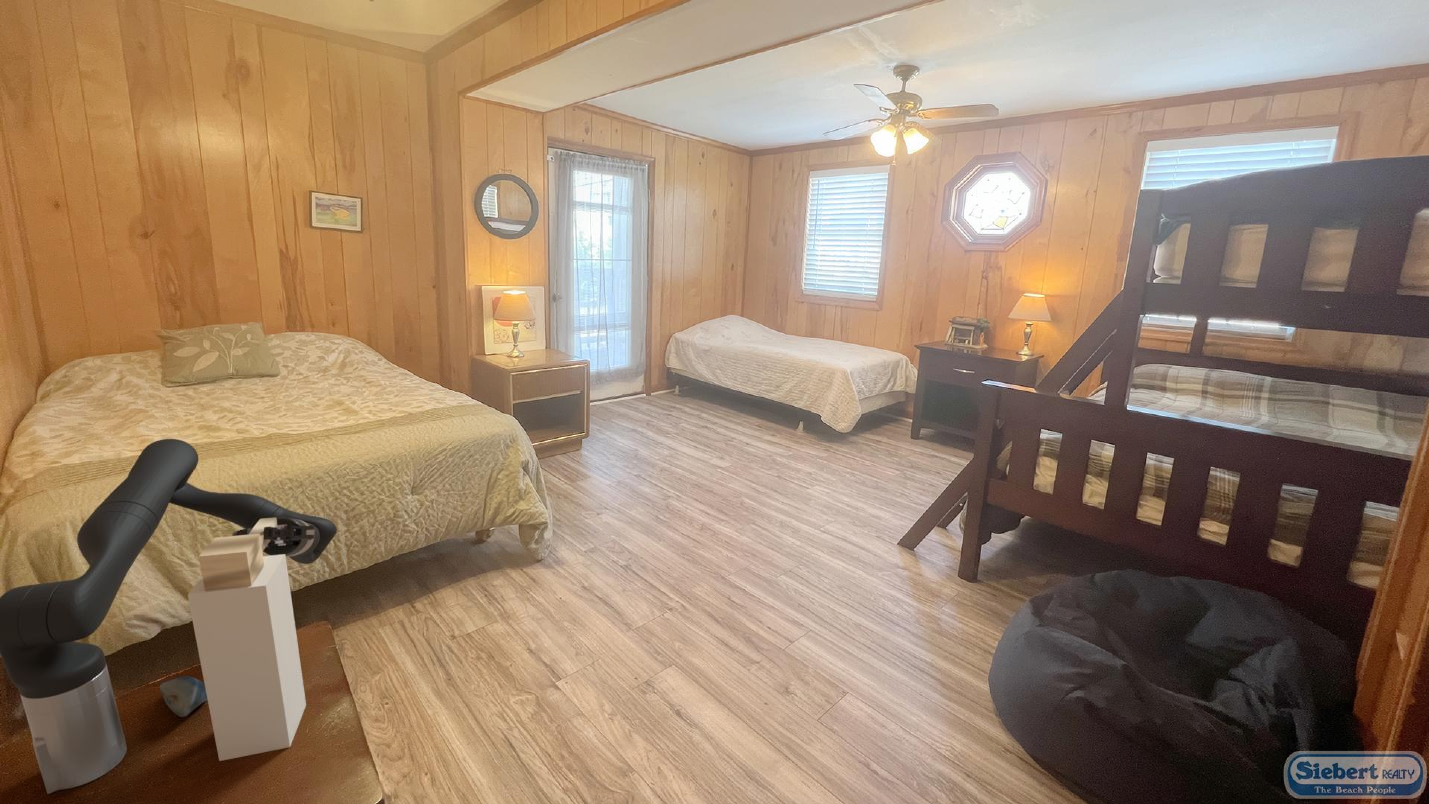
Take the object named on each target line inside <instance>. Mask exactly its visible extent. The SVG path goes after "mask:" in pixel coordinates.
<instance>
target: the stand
mask: <svg viewBox="0 0 1429 804" xmlns="http://www.w3.org/2000/svg"><path fill="white" fill-rule="evenodd" d="M263 559H264V565H265V566H264V567H263V569H262V570H261V572H260V574H259V575H258V577H257V578H256V580H255V581H254V583H253V584H252V585H251V586H243V587H234V588H225V589H216V590H208V591H205V588H204V583H203V577H202V576H201V578H200V579H199V580H198V581H197V582H196V584H195V585H194V586H193V587H192V588H191V590H190V591H189V592H188V594H187V599H188V603H189V609H190V614H191V619H192V624H193V629H194V635H195V640H196V645H197V651H198V657H199V661H200V667H201V672H202V677H203V683H204V684H205V688H206V694H207V699H208V700H207V704H208V708H209V713H210V714H209V715H210V719H211V724H212V730H213V734H214V740H215V745H216V750H217V755H218V761H219V762H221V761H226V760H233V759H236V758H237V759H238V758H242V757H247V756H252V755H257V754H262V753H266V752H272V751H278V750H283V749H287V748H291V746H292V742H293V741H294V738H295V735H296V733H297V730H298V728H299V725H300V723H301V720H302V717H303V715H304V711H305V709H306V707H307V701H306V695H305V687H304V680H303V679H304V678H303V672H302V666H301V665H302V664H301V659H300V652H299V651H300V650H299V644H298V643H299V642H298V636H297V629H296V621H295V615H294V607H293V602H292V601H293V600H292V592H291V585H290V578H289V572H288V564H287V557H286V556H285V554H282V555H272V556H271V555H263Z"/></svg>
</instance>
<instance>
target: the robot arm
mask: <svg viewBox="0 0 1429 804" xmlns="http://www.w3.org/2000/svg"><path fill="white" fill-rule="evenodd" d="M198 463H199V454H198V451H197V449H195V447H194V446H192V444H190V443H188V442H187V441H184V440H182V439H176V438H163V439H159V440H156V441H153V442H151V443H149V444H148V445H147V446H146V447H145V448H143V450H141V452H140V454H139V456H138V457H137V459H136V460H135V462H134V464H133V466H132V467H131V469H130V471H129V473H128V474H127V477H126V478H125V479H124V480H123V481H122V482H121V483H120V484H119V485H118V486H116V487H115V489H113V490H112V492H111V493H110V494H109V495H108V496H107V497H105V499H104V500H103V501H102V502H101V503H100V504H99V505H98V506H97V508H95V509H94V510H93V512H92V513H91V514H90V516H89V517H88V518H87V519H86V520H85V522H84V523H82V525H81V527H80V529H79V531H78V533H77V536H76V537H77V538H76V543H77V546H78V550H79V551H80V554H82V556H83V559H85V561H86V562H87V564H88V565H89V567H88V569H87V570H86V571H85V572H84V574H82V575H80V576H79V577H77V578H74V579H68V580H61V581H52V582H45V583H37V584H36V583H35V584H27V585H21V586H17V587H14V588H12V589H9V590H7V591H5V592H4V593H3V594H2V595H1V596H0V658H1V660H2V663H3V666H4V667H5V671H6V674H7V675H8V676H7V677H8V678H9V680H10V682H11V683H12V684H13V685H14V686H16V688H17V689H18V693H19V695H20V698H21V702H22V705H23V708H24V709H23V710H24V713H25V716H26V719H27V723H28V727H29V730H30V733H31V738H32V745H33V746H32V747H33V750H34V753H35V754H34V755H35V758H36V761H37V764H38V767H39V771H40V774H41V777H42V781H43V784H44V788H45V790H46V794H48V795H49V794H52V793H54V792H57V791H60V790H67V789H69V790H70V789H73V788H76V787H80V786H82V785H86V784H88V783H90V782H92V781H95V780H97V779H98V778H100V777H102V776H104V775H106V774H108V772H110V771H112V770H113V769H114V768H115V767H116V766H117V765H118V764H120V763H121V762H122V760H124V758H125V756H126V753H127V750H128V748H127V743H126V738H125V734H124V730H123V727H122V722H121V719H120V714H119V710H118V706H117V702H116V698H115V694H114V690H113V685H112V682H111V677H110V673H109V669H108V665H107V661H106V660H107V659H106V656H105V653H104V651H103V649H102V648H101V646H98V645H96V644H93V643H89V642H82V641H81V642H80V640H83V639H86V638H88V637H90V636H91V635H92V634H93V633H95V632H96V631H97V630H98V628H99V627H100V626H101V625H102V623H103V622H104V620H105V619H106V617H107V615H108V613H109V612H110V611H109V610H110V609H111V607H112V606H113V603H114V600H115V598H116V597H117V594H118V592H119V590H120V588H121V586H122V584H123V582H124V579H125V578H126V576H127V574H128V573H129V570H130V569H131V567H132V566H133V564H134V563H135V562H136V559H137V558H138V557H139V555H140V553H141V552H142V550H143V549H144V547H145V546H146V545H147V544H148V542H149V541H150V540H151V538H152V536H153V534H154V533H155V532H156V530H157V528H158V527H159V525H160V523H161V520H162V519H163V517H164V515H165V513H166V511H167V509H168V506H169V504H172V505H175V506H178V507H182V508H185V509H188V510H192V511H195V512H199V513H201V514H206V515H208V516H209V515H210V516H212V517H215V518H218V519H221V520H224V521H227V522H229V523H232V524H234V525H237V526H239V527H241V528H243V529H239V530H236V531H233V532H232V535H231V536H240V535H248V534H249V533H250V532H251V530H252V529H253V527H254V526H255V525H256V523H257V522H258V521H259V520H260V519H263V518H276V519H277V526H276V527H264V540H270V542H269V543H268V545H267V546H266V548H265V549H264V550H263V553H265V554H266V555H267V556H272V555H282V554H285V556H286V558H287V557H288V558H289V559H290V560H292V561H294V562H295V563H298V564H301V565H302V564H304V565H309V564H313V563H315V561H317V560H318V559H319V558H320V556H321V555H322V554H323V552H324V551H325V549H326V548H327V547H328V545H329V544H331V542H332V540H333V539H334V537H335V536H337V532H338V528H337V526H336V524H335V522H333V521H332V520H331V519H329V518H324V517H320V516H314V515H309V514H305V513H300V512H296V511H292V510H290V509H288V508H285V507H283V506H281V505H279V504H277V503H274V502H273V501H271V500H268V499H266V498H264V497H262V496H259V495H257V494H250V493H242V492H241V493H236V492H212V491H208V490H204V489H200V488H199V487H196V486H194V485H192V484H190V483H188V481H189V479H190V478H191V476H192V475H193V473H194V471H195V470H196V468H197V466H198Z"/></svg>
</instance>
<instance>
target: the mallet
mask: <svg viewBox="0 0 1429 804" xmlns="http://www.w3.org/2000/svg"><path fill="white" fill-rule="evenodd" d="M276 526H277V519H276V518H263V519H260V520H259V521H258V522H257V523H256V525H255V526H254V527H253V529H252V530H251V532H250V533H249V534H248V535H240V536H232V535H231V536H219V537H214V538H213V539H212V540H211V542H210V543H209V544H208V546H206V547H205V549H204V550H203V551H202V552H201V553H200V554H199V556H198V560H199V564H200V565H199V566H200V572H201V578H202V577H203V583H204V588H205V591H208V590H216V589H225V588H234V587H243V586H251V585H252V584H253V583H254V581H255V580H256V578H257V577H258V575H259V574H260V572H261V570H262V569H263V567H264V566H265V565H264V559H263V556H264V554H263V553H264V552H263V550H264V549H265V548H266V546H267V545H268V543H269V542H270V540H264V527H276Z"/></svg>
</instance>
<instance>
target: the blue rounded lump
mask: <svg viewBox="0 0 1429 804" xmlns="http://www.w3.org/2000/svg"><path fill="white" fill-rule="evenodd" d="M159 688H160V692H161V696H162V698H163V700H164V702H165V704H166V705H167V707H168V708H169V709H170V711H172V712H173V713H174V715H176V716H178V717H180V718H186V717H187V716H188V715H190V713H192V712H193V711H194V710H196V709H197V708H198V707H199V706H201V705H202V704H204V702H206V701H208V699H207V694H206V688H205V683H204V681H201V680H199V679H197V678H196V677H192V676H180V677H176V678H172V679H170V680H167V681H163V682H161V684H160V685H159Z"/></svg>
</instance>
